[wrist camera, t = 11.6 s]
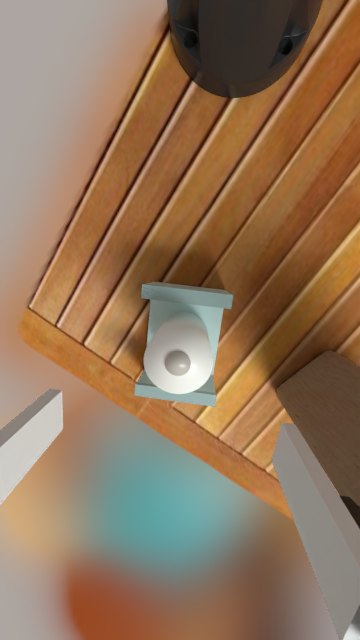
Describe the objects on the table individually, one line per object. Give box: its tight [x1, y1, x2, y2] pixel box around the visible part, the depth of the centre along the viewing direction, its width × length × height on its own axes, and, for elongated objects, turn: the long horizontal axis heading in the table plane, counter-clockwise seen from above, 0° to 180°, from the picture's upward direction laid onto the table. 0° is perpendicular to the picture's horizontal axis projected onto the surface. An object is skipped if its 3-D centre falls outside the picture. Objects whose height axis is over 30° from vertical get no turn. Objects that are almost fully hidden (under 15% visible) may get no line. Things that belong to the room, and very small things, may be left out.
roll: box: [144, 312, 213, 394], centre depth 26 cm, size 7×7×9 cm
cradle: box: [135, 282, 233, 407], centre depth 29 cm, size 14×10×6 cm
